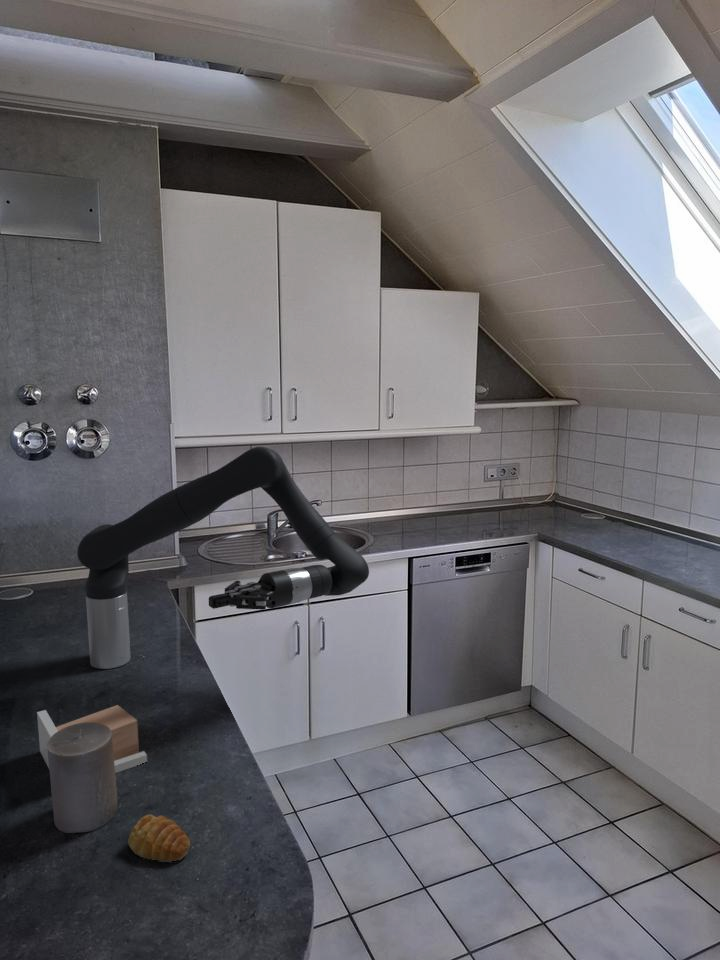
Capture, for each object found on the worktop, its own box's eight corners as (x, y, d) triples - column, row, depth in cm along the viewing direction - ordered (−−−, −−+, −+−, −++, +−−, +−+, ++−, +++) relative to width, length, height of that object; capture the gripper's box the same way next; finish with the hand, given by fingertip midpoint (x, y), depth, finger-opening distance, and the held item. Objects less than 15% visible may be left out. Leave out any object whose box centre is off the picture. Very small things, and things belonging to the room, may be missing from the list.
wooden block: (57, 762, 128) (54, 727, 126) (119, 738, 136) (117, 704, 135) (75, 781, 122) (72, 745, 121) (139, 755, 130) (137, 720, 129)
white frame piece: (40, 751, 131) (36, 712, 129) (120, 726, 139) (118, 689, 138) (60, 792, 119) (57, 749, 117) (147, 762, 128) (145, 721, 126)
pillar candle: (97, 788, 120) (91, 708, 117) (129, 811, 114) (123, 727, 111) (42, 817, 113) (33, 732, 110) (73, 844, 106) (65, 755, 104)
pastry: (201, 845, 107) (200, 823, 106) (170, 874, 101) (169, 851, 100) (154, 826, 111) (153, 804, 110) (122, 853, 105) (121, 830, 104)
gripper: (270, 562, 154) (196, 575, 143) (302, 578, 143) (224, 594, 133) (270, 595, 155) (196, 610, 145) (301, 613, 145) (225, 631, 134)
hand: (210, 602), depth 139 cm, fingers closed
